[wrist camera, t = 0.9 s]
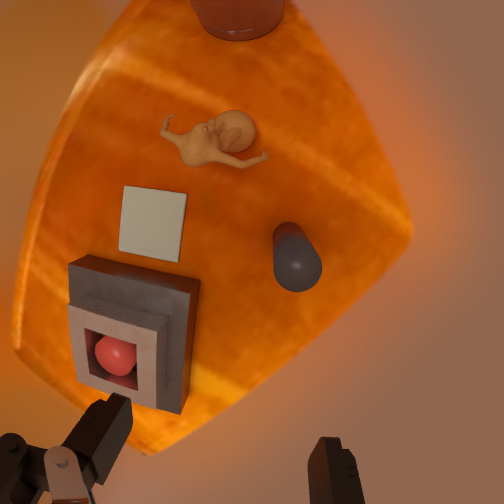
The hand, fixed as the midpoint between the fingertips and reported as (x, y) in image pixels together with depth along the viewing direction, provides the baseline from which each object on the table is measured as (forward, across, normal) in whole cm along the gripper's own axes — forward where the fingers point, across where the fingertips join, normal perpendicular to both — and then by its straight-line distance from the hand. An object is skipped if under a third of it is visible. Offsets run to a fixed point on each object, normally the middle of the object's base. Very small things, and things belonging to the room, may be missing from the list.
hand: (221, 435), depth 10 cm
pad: (+20, +11, -3) cm, 24 cm away
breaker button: (+18, +12, +10) cm, 24 cm away
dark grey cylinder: (+20, -3, -5) cm, 21 cm away
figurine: (+21, +4, -12) cm, 25 cm away
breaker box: (+20, +12, +10) cm, 25 cm away
